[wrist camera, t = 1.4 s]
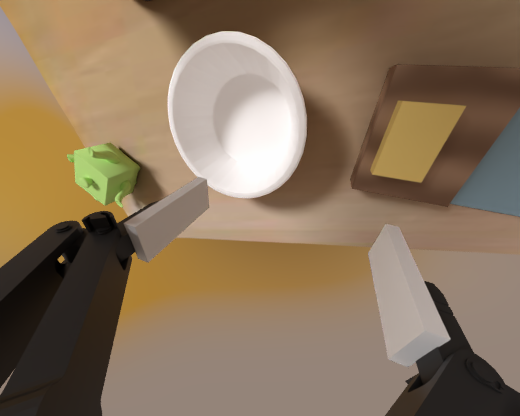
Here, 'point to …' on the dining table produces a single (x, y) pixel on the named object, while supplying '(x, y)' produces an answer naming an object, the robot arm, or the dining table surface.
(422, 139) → the block
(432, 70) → the brown wooden slab
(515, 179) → the mat
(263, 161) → the bowl
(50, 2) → the dining table surface
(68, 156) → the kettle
